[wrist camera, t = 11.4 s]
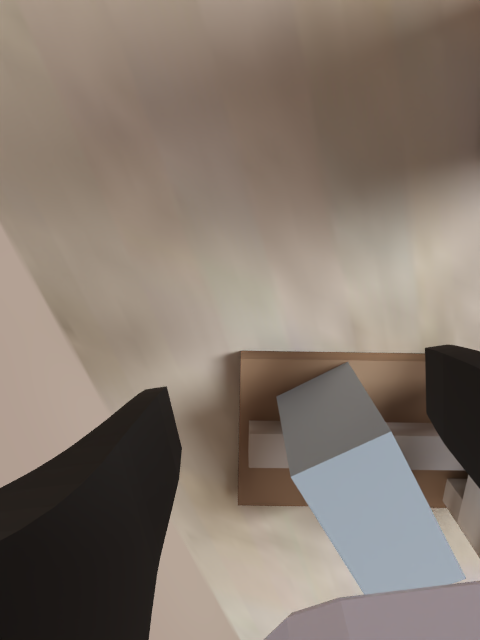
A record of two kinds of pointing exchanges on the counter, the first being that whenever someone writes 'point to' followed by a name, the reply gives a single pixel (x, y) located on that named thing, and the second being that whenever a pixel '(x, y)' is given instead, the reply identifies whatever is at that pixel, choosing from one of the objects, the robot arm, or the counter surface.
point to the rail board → (391, 401)
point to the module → (362, 486)
